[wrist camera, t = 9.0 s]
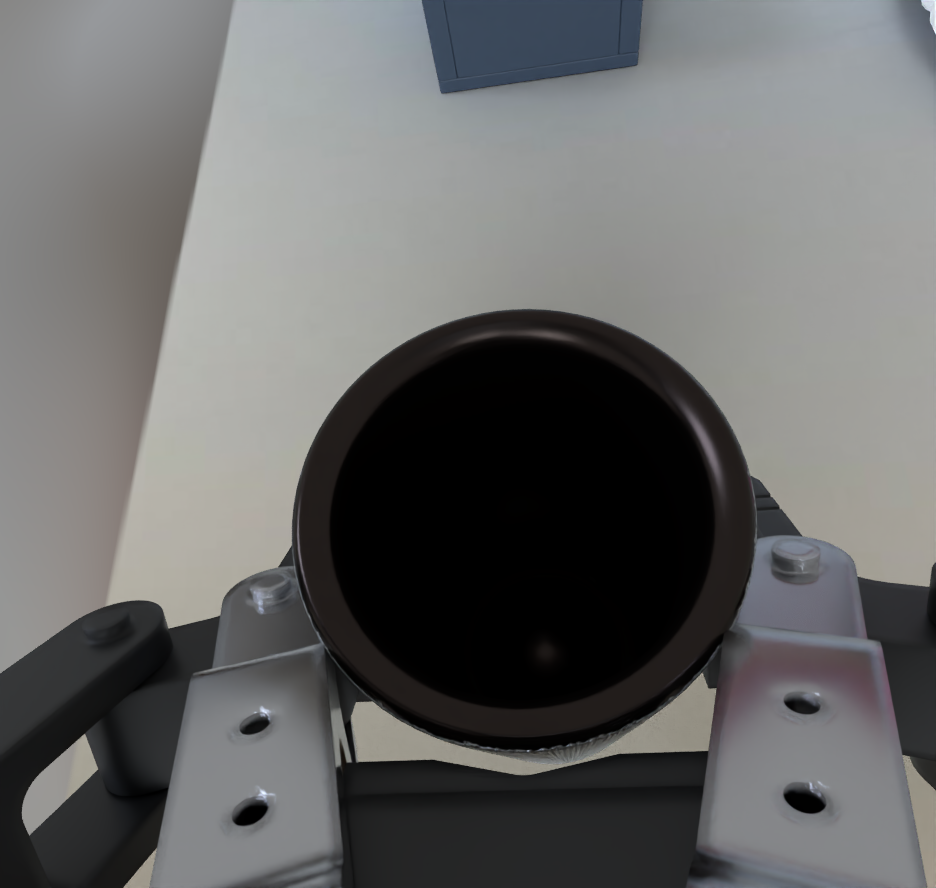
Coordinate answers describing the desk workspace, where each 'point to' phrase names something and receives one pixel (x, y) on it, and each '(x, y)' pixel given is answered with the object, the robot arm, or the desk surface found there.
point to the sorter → (529, 39)
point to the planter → (524, 533)
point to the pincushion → (931, 11)
